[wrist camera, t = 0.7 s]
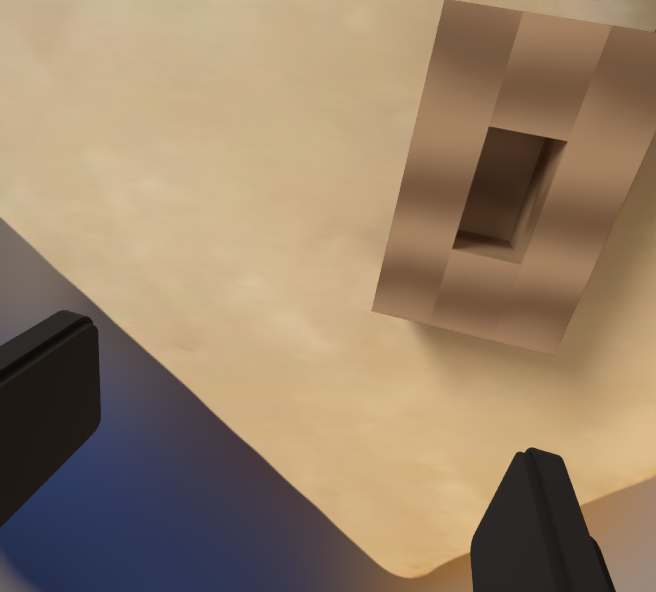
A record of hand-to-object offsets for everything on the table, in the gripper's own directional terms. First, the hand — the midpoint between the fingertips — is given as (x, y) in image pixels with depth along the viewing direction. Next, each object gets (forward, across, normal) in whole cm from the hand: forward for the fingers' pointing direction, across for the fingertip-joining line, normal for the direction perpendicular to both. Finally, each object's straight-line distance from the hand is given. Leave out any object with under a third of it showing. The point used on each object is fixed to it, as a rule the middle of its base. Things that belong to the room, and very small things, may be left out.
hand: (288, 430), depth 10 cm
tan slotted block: (+27, -7, -2) cm, 28 cm away
